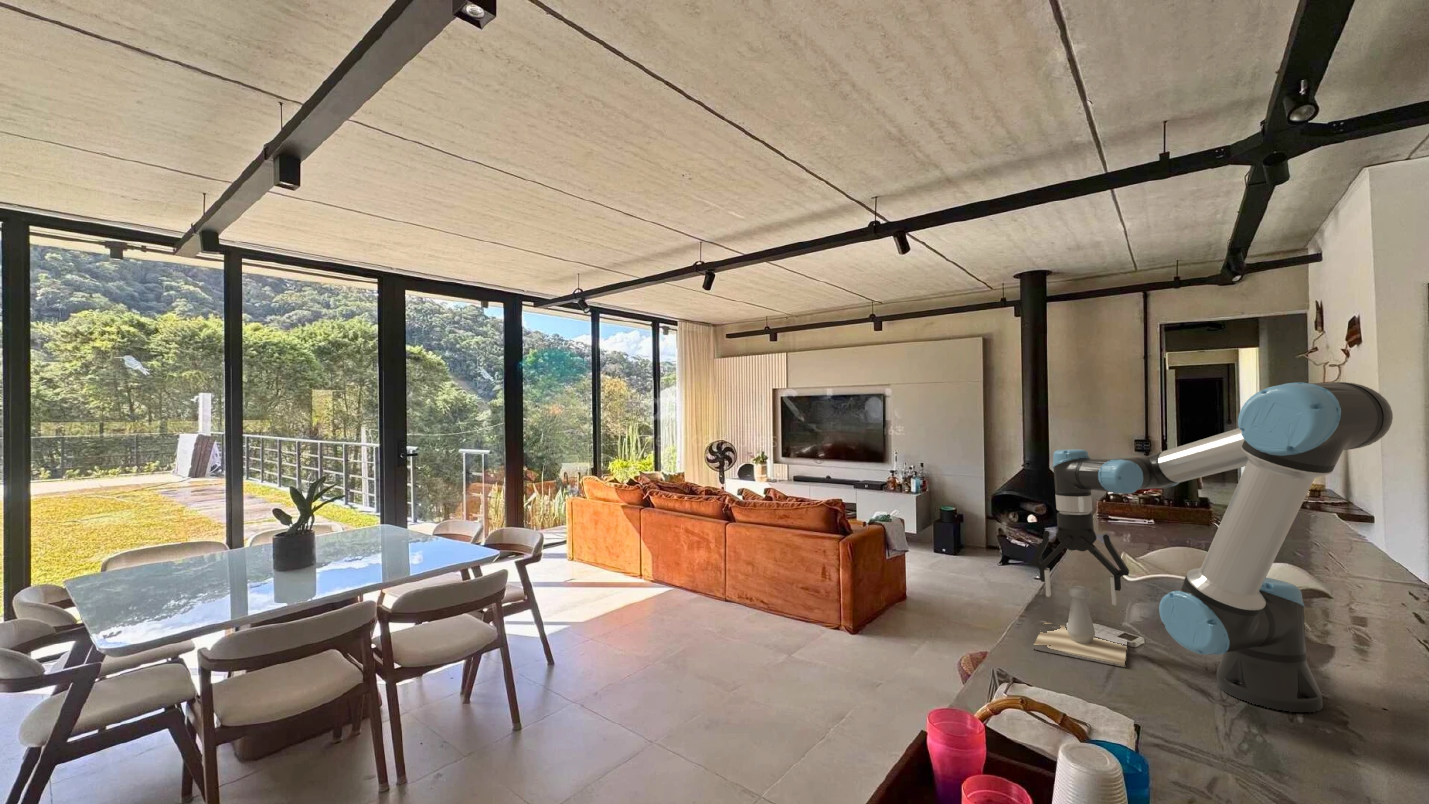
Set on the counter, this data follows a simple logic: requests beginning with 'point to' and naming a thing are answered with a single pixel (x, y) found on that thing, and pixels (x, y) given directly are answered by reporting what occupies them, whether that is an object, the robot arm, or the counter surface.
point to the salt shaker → (1080, 616)
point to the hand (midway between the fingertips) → (1080, 599)
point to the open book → (1083, 646)
